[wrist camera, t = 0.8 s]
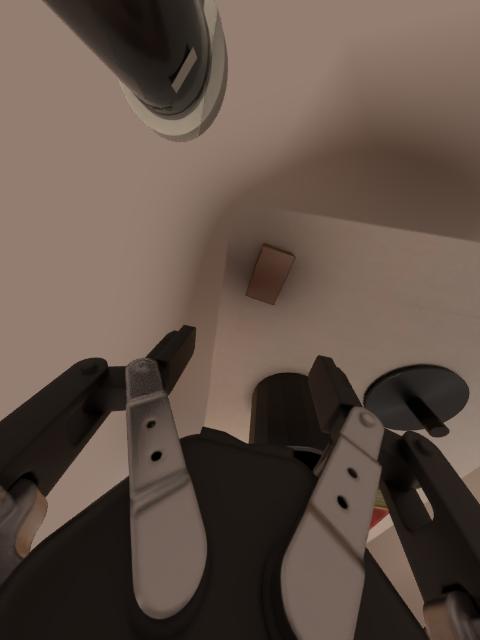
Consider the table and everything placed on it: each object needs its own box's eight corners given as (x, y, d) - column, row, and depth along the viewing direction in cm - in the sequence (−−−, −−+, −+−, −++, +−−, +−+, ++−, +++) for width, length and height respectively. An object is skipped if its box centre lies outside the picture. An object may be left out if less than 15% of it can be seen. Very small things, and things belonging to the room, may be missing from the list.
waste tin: (268, 363, 32) (269, 433, 21) (340, 387, 33) (378, 469, 22) (244, 410, 39) (235, 483, 27) (304, 430, 39) (320, 510, 28)
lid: (400, 352, 28) (432, 381, 23) (487, 382, 29) (539, 418, 23) (346, 410, 35) (361, 443, 29) (417, 433, 35) (444, 471, 30)
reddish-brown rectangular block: (263, 243, 24) (263, 245, 21) (292, 253, 24) (295, 256, 21) (247, 288, 27) (245, 295, 24) (273, 297, 27) (274, 305, 24)
